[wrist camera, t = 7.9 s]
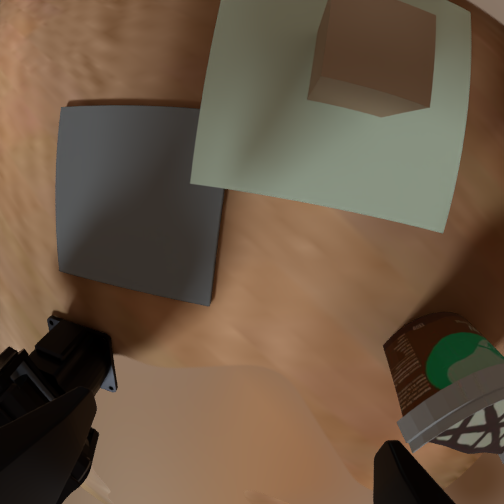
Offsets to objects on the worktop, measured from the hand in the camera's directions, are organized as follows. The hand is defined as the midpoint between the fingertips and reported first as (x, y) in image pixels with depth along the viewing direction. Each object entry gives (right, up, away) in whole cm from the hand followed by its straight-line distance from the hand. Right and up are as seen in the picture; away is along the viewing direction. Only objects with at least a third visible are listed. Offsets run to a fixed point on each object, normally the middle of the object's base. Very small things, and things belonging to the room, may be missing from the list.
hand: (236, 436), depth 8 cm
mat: (-7, +8, +11) cm, 16 cm away
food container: (+15, -1, +13) cm, 20 cm away
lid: (+4, +12, +3) cm, 13 cm away
